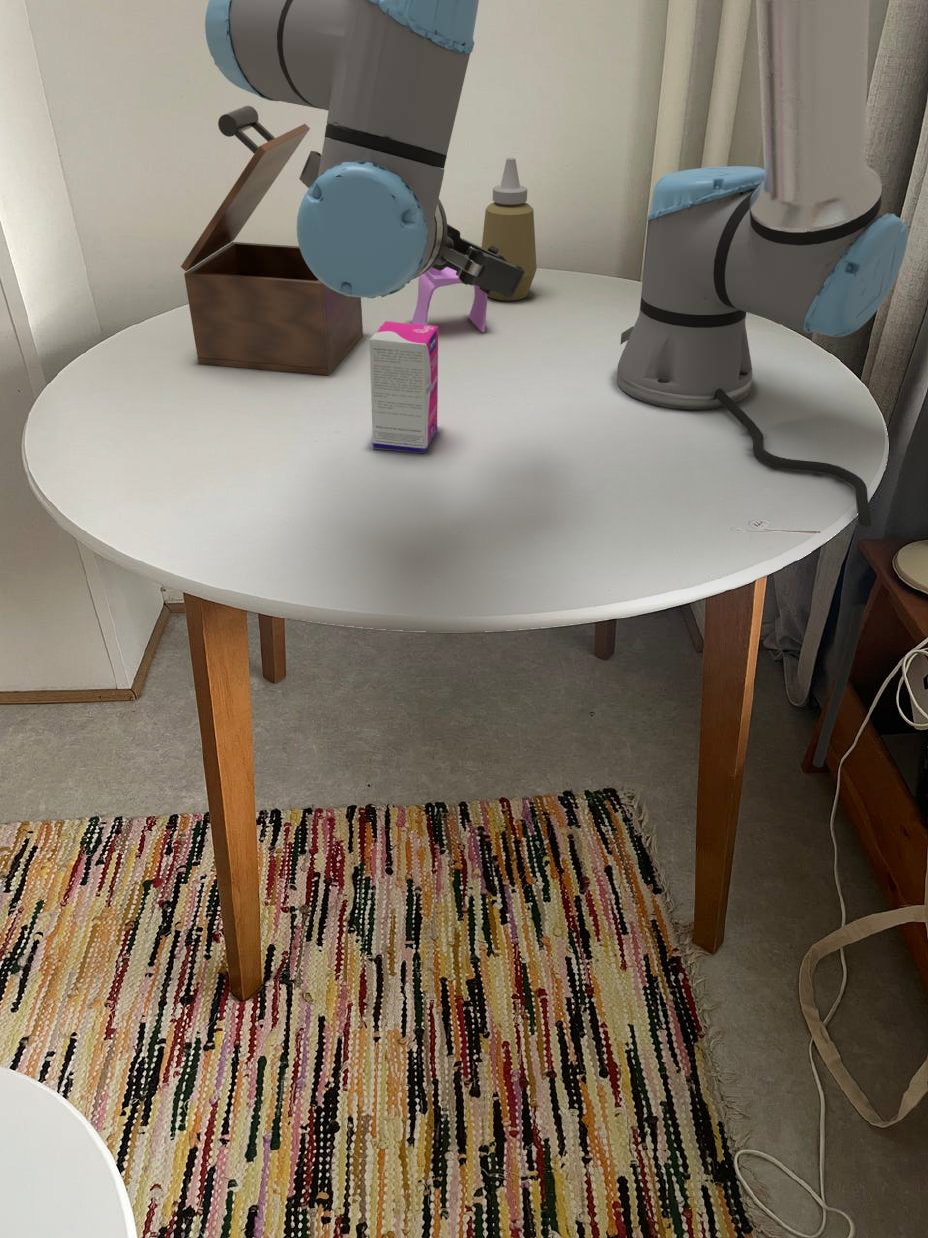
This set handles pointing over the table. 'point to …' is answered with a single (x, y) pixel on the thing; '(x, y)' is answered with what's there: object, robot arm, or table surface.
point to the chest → (269, 311)
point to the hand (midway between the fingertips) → (423, 223)
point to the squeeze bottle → (511, 228)
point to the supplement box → (404, 386)
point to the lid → (245, 181)
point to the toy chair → (444, 278)
